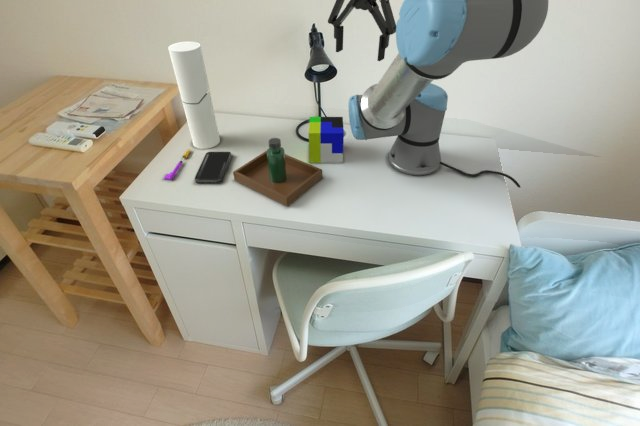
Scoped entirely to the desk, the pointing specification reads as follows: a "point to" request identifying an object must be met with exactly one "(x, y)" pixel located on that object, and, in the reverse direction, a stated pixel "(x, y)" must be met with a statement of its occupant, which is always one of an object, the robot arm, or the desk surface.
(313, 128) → the puzzle toy
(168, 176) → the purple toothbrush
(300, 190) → the tray
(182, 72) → the container
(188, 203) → the desk surface
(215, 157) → the phone
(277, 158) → the spice bottle
